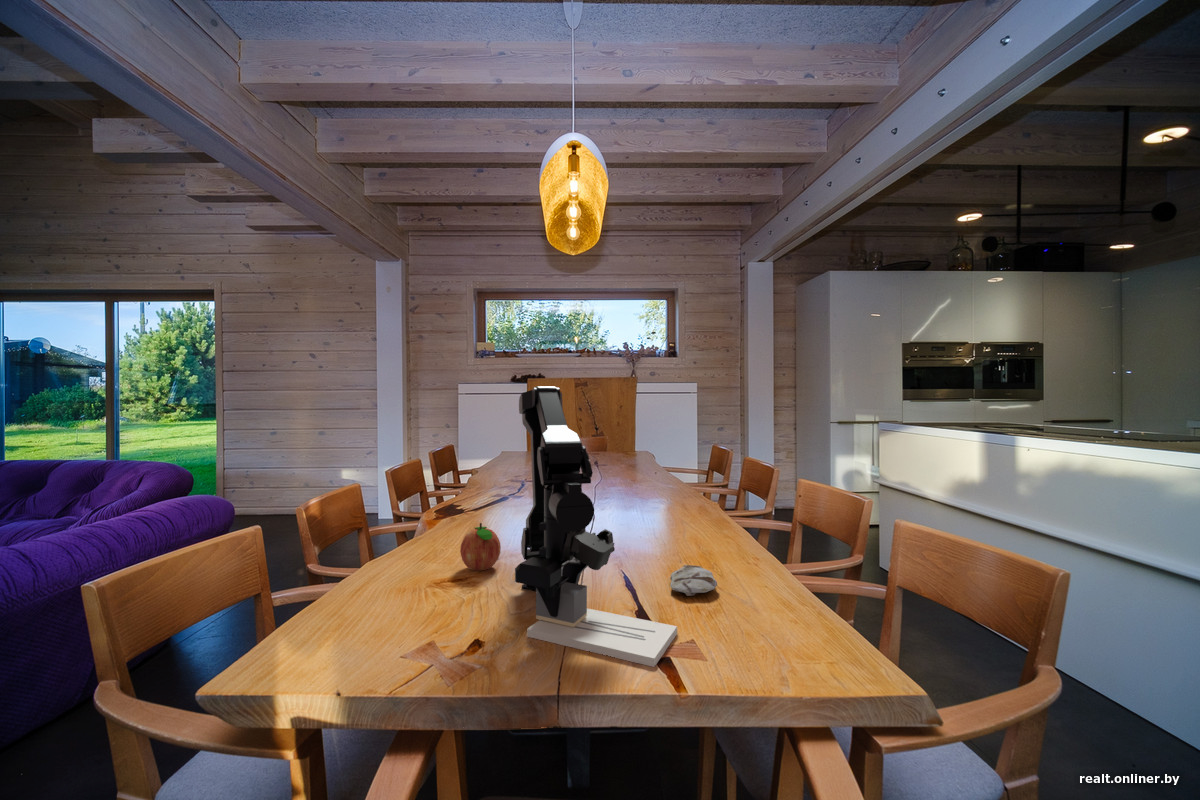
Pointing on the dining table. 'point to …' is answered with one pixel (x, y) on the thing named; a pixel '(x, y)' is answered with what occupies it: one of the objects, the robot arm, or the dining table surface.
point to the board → (610, 636)
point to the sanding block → (565, 605)
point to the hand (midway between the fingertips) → (561, 610)
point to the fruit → (480, 548)
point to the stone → (692, 580)
